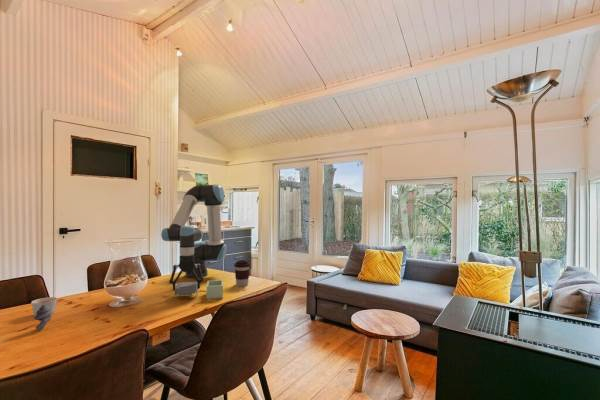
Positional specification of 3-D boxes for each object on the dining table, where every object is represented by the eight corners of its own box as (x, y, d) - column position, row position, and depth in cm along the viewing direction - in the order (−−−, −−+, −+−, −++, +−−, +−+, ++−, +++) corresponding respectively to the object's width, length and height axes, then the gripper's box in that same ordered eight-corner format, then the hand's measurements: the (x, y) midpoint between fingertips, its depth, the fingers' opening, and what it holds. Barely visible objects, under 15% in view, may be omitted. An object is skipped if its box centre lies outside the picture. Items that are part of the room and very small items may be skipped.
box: (207, 293, 168) (207, 280, 168) (222, 292, 170) (222, 279, 171) (206, 299, 157) (206, 286, 157) (222, 298, 159) (222, 285, 159)
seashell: (33, 329, 119) (34, 304, 119) (51, 325, 123) (51, 301, 123) (34, 333, 115) (35, 307, 115) (52, 329, 119) (52, 304, 119)
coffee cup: (248, 287, 181) (248, 262, 181) (232, 286, 181) (232, 262, 181) (251, 282, 191) (251, 259, 191) (236, 282, 191) (236, 259, 191)
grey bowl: (60, 312, 137) (60, 299, 137) (35, 319, 129) (36, 304, 129) (52, 309, 141) (52, 296, 141) (27, 315, 133) (28, 301, 134)
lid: (178, 289, 166) (178, 281, 166) (197, 288, 168) (197, 280, 168) (174, 296, 153) (174, 288, 153) (195, 295, 156) (195, 287, 156)
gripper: (163, 256, 155) (162, 299, 154) (208, 255, 160) (207, 296, 160) (166, 254, 162) (165, 294, 162) (208, 252, 168) (208, 292, 167)
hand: (186, 295), depth 161 cm, fingers closed on lid, 10 cm apart
